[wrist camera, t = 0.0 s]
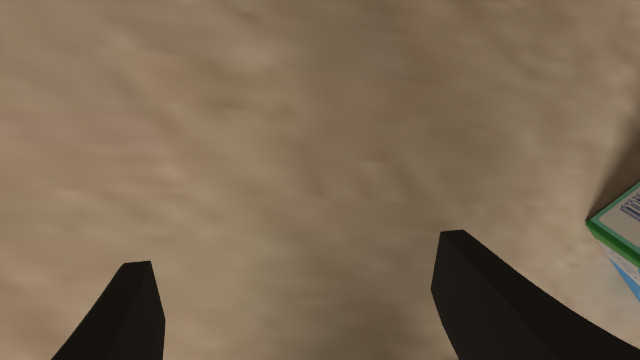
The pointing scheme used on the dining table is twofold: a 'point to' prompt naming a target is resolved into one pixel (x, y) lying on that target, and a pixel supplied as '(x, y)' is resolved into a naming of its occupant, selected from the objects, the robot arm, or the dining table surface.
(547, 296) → the robot arm
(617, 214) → the milk carton
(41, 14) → the dining table surface
